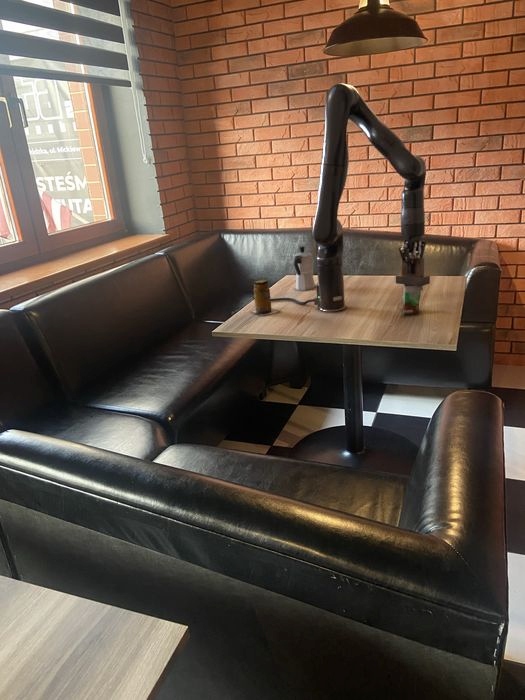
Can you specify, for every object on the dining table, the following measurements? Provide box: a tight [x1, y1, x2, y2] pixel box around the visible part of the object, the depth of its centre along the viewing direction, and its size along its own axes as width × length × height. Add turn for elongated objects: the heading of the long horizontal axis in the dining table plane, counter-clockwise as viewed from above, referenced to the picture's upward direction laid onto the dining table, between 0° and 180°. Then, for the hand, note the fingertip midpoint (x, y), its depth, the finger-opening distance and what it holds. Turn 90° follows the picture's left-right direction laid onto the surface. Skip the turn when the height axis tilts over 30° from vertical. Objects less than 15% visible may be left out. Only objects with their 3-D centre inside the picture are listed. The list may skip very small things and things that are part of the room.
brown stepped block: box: [395, 256, 431, 287], centre depth 180 cm, size 10×5×9 cm, turn 45°
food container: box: [402, 284, 424, 316], centre depth 184 cm, size 12×6×10 cm, turn 169°
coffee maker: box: [292, 245, 316, 291], centre depth 228 cm, size 15×9×18 cm, turn 154°
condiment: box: [250, 279, 279, 316], centre depth 202 cm, size 7×8×12 cm
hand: (412, 273), depth 180 cm, fingers closed on brown stepped block, 2 cm apart
